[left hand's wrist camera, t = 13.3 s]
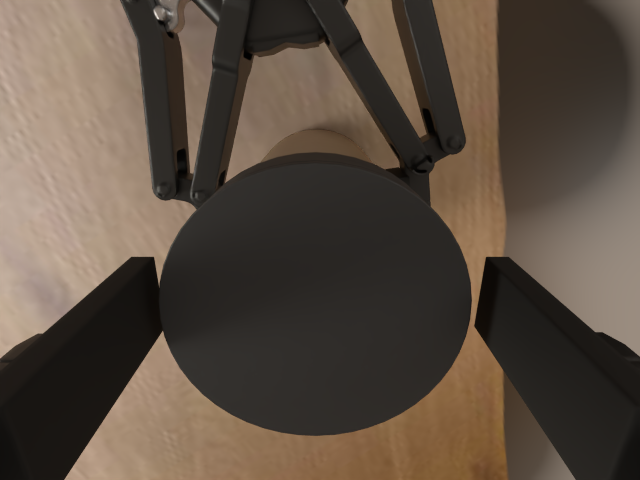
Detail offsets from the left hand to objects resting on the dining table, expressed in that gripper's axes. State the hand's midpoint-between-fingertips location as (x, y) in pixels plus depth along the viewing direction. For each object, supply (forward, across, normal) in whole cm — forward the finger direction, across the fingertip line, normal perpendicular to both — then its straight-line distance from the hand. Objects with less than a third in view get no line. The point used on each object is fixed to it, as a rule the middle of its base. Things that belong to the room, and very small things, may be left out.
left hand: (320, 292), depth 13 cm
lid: (-1, 0, 0) cm, 1 cm away
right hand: (+9, 0, -5) cm, 10 cm away
